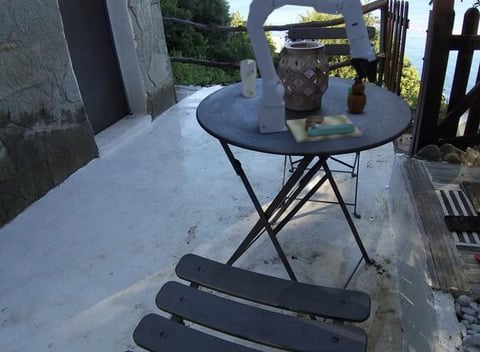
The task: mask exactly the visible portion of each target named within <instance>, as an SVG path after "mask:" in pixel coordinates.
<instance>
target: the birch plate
mask: <svg viewBox="0 0 480 352" xmlns="http://www.w3.org/2000/svg"><path fill="white" fill-rule="evenodd" d="M323 117H324V121H323V122H322V124H316V127H320V126H330V125H341V124H354V123H353V121H352V120H350V119H349V118H348V117H347V116H346V114H342V115H331V116H323ZM305 120H306V118H301V119H300V118H299V119H289V120H285V125H286V126H287V128H288V130H289V131H290V133H291V135H292V136H293V138H294V140H295V141H296V143H306V142H307V143H308V142H316V141H317V142H318V141H327V140H337V139H347V138H357V137H359V138H360V137H363V132H362V131H361V130H360V129H359V128H358V127H357V126H356V125H355V131H354V132H346V133H336V134H326V135H318V136H309V135H308V131H307V130H305Z"/></svg>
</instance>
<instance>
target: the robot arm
mask: <svg viewBox="0 0 480 352" xmlns="http://www.w3.org/2000/svg"><path fill="white" fill-rule="evenodd" d="M361 1H362V0H252V1H251V2H250V4H249V9H248V14H247V19H246V24H245V26H246V30H247V34H248V37H249V40H250V43H251V47H252V51H253V54H254V58H255V61H256V65H257V67H258V71H259V74H260V76H261V89H262V102H263V104H261V105H258V106H257V126H258V130H259V132H260V134H267V133H268V134H270V133H280V132H288V131H289V128H288V126H287V125H286V119H285V118H286V117H285V113H286V110H285V106H286V105H285V104H286V102H285V101H284V99H283V97H284V96H285V94H286V87H285V86H284V84H283V83H282V81H281V80H280V77H279V75H278V73H277V72H276V68H275V65H274V62H273V61H274V60H273V57H272V54H271V51H270V46H269V44H268V40H267V36H266V33H265V29H264V25H265V23H266V21H267V20H268V18H269V16H270V15H272V13H273V12H274V11H275V10H278V9H280V8H282V7H284V6H297V7H306V8H307V7H308V8H313V9H314V11H315V13H319V14H324V15H333V16H339V15H341V16H342V17H343V20H344V28H345V31H346V37H347V40H348V45H349V49H350V50H349V54H350V57H351V58H350V59H348V63H349V64H350V65H351V66H352V67H353V69H354V71H355V74H357V78H358V77H359V79H360V80H361V79H362V80H363V79H366V80H367V81H368V83H369V84H374V83H376V82H377V80H378V67H379V62H380V60H381V58H380V57H379V56H377V57H376V54H375V52H374V51H375V49H376V47H375V46H371V42H370V38H369V33H368V28H367V23H366V20H365V18H364V12H363V11H362V8H363V4H362V2H361Z"/></svg>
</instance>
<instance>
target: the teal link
mask: <svg viewBox="0 0 480 352" xmlns="http://www.w3.org/2000/svg"><path fill="white" fill-rule="evenodd" d="M355 126H356V124H355V123H353V124H341V125H330V126H320V127H316V123H315V122H312V124H311V127H309V128H308V135H309V136H318V135H326V134H336V133H346V132H354V131H355Z"/></svg>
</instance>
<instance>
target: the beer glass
mask: <svg viewBox="0 0 480 352" xmlns="http://www.w3.org/2000/svg"><path fill="white" fill-rule="evenodd" d="M239 65H240V78H241V82H242V89H243V90H242V96H243V95H244V96H246V97H245V98H255V97H256V96H257V91H256V81H257V61H256V59H243V60H241V61H240V64H239ZM244 96H243V97H244Z"/></svg>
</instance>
